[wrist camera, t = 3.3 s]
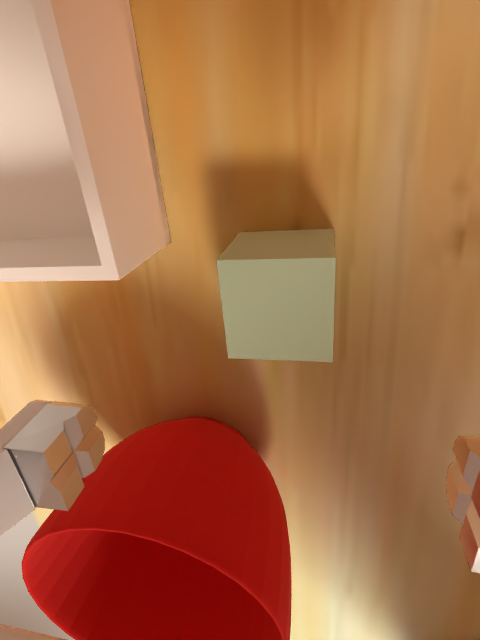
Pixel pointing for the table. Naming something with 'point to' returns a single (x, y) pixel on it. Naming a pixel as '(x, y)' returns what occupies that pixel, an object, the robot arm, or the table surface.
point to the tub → (75, 144)
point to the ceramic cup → (168, 543)
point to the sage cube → (279, 295)
